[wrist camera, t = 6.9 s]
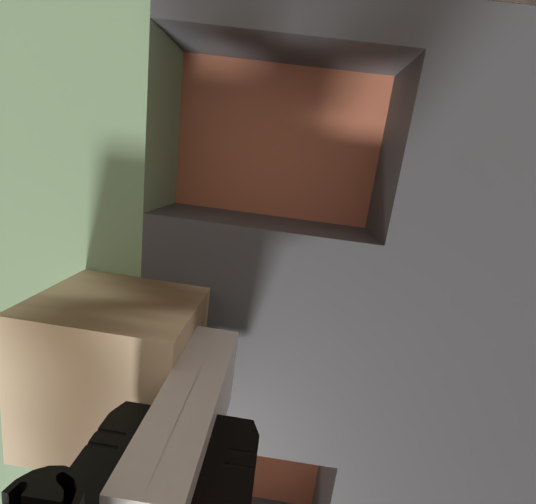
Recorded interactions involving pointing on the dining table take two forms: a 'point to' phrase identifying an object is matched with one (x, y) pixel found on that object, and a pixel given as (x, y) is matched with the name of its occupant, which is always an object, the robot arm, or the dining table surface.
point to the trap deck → (302, 217)
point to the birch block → (87, 358)
